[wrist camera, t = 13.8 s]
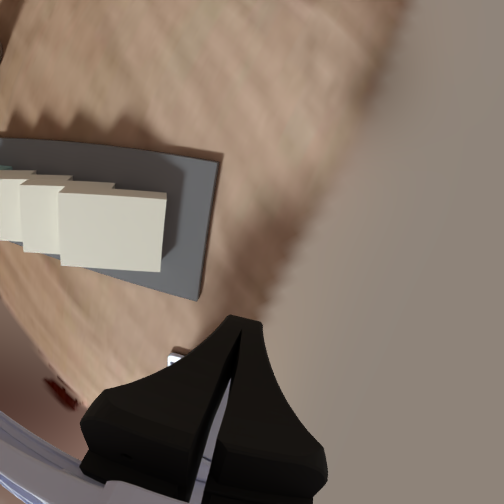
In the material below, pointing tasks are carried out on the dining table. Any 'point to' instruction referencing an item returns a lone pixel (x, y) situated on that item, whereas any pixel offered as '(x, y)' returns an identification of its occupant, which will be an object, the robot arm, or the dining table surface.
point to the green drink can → (0, 51)
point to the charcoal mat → (143, 179)
